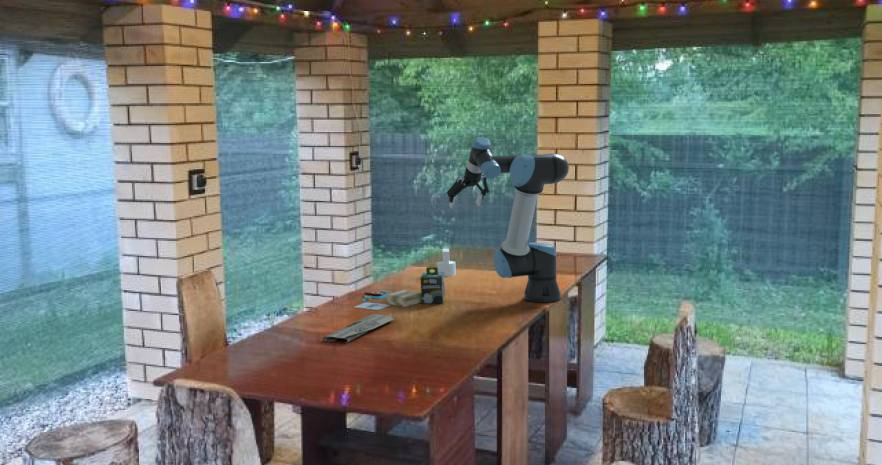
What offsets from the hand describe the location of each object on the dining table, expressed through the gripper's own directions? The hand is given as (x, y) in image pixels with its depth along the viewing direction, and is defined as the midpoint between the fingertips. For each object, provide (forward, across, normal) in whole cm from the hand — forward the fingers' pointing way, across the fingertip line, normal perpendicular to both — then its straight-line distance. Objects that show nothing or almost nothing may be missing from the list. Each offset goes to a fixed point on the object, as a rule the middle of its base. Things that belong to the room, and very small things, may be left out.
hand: (464, 205), depth 386 cm
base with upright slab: (+41, +2, +4) cm, 41 cm away
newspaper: (-5, +73, +68) cm, 100 cm away
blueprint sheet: (+14, +56, +39) cm, 70 cm away
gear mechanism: (+25, +48, +26) cm, 60 cm away
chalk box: (+12, +30, +44) cm, 54 cm away
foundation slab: (+14, +42, +40) cm, 60 cm away
